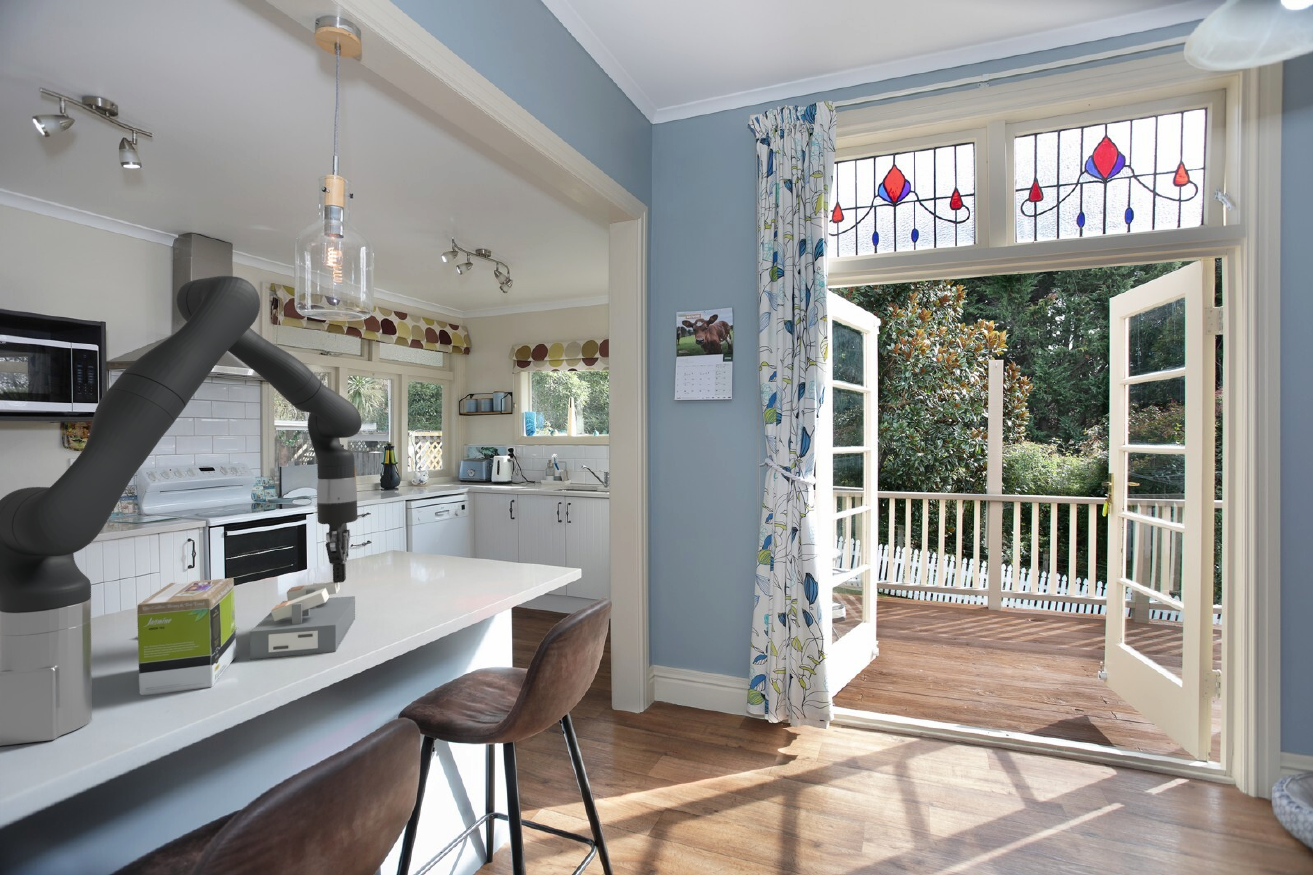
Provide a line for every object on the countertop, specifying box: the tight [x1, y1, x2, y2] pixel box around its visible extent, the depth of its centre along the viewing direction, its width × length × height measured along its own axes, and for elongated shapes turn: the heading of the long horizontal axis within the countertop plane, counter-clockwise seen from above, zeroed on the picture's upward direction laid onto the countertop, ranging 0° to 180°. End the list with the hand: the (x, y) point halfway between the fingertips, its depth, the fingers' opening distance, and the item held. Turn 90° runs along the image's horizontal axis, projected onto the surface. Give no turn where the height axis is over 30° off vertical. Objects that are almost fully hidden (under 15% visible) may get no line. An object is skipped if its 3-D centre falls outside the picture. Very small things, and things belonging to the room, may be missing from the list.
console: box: [249, 583, 356, 660], centre depth 128 cm, size 22×14×9 cm, turn 17°
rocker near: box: [270, 588, 330, 621], centre depth 123 cm, size 5×9×2 cm, turn 107°
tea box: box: [136, 577, 237, 697], centre depth 108 cm, size 15×10×15 cm, turn 21°
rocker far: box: [286, 580, 341, 601], centre depth 133 cm, size 5×9×2 cm, turn 107°
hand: (339, 581), depth 135 cm, fingers closed
